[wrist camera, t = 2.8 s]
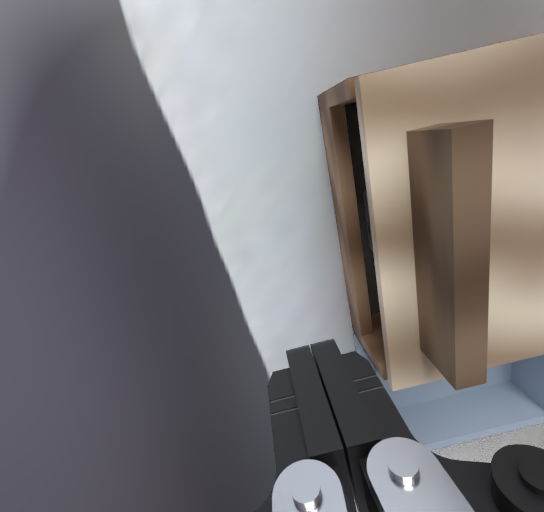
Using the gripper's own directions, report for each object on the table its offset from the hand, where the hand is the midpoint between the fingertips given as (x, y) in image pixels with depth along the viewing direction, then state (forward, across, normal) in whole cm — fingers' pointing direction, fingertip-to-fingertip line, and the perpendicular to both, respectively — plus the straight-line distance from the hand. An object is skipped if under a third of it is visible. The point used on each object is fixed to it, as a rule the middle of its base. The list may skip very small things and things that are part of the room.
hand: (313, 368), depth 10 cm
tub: (+12, -11, +12) cm, 20 cm away
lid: (+6, -11, 0) cm, 12 cm away
